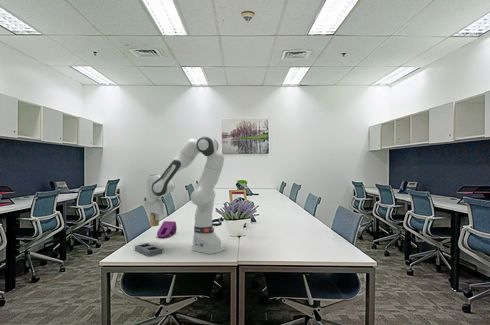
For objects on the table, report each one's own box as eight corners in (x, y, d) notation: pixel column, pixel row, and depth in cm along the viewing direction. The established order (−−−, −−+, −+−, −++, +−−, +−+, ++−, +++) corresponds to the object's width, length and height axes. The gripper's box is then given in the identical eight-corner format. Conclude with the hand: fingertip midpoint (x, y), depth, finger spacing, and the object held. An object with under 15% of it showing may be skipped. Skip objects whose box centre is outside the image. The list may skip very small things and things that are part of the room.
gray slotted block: (162, 253, 186) (162, 248, 186) (148, 256, 180) (148, 251, 180) (148, 247, 199) (148, 242, 199) (134, 250, 192) (134, 245, 192)
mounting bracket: (169, 245, 225) (177, 230, 241) (167, 236, 222) (175, 221, 238) (156, 245, 227) (165, 229, 243) (154, 236, 223) (163, 221, 239)
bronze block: (158, 225, 205) (158, 213, 205) (153, 226, 202) (153, 214, 202) (155, 224, 207) (155, 212, 207) (150, 225, 205) (150, 213, 205)
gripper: (166, 199, 200) (166, 220, 199) (151, 197, 214) (151, 217, 214) (157, 200, 195) (158, 222, 195) (142, 198, 210) (142, 218, 210)
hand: (154, 219), depth 205 cm, fingers closed on bronze block, 4 cm apart
